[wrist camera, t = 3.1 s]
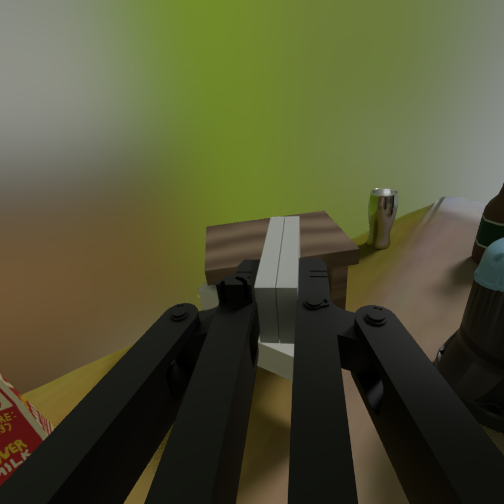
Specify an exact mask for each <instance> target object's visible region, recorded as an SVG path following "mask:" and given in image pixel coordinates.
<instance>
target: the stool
mask: <svg viewBox="0 0 504 504" xmlns="http://www.w3.org/2000/svg"><path fill="white" fill-rule="evenodd" d="M289 216H299V222H300V258H321V259H322V260H323V261H324V262H325V263H326V267H327V275H328V283H329V291H330V298H331V300H332V302H333V303H334V304H335V305H336V306H337V307H339V308H341V309H343V310H345V304H346V289H347V273H348V265H354V264H358V262H359V250H360V249H359V248H358V247H357V245H356V244H355V243H354V242H353V241H352V240H351V239H350V238H349V237H348V236H347V235H346V234H345V233H344V232H343V230H342V229H341V228H340V227H339V226H338V225H337V224H336V223H335V222H334V221H333V220H332V219H331V218H330V217H329V215H328V214H327V213H326V212H325V211H318V212H311V213H304V214H296V215H289ZM281 217H287V216H281ZM269 222H270V218H267V219H260V220H252V221H244V222H237V223H230V224H223V225H215V226H208V227H207V228H206V229H207V230H206V252H205V275H206V280H207V285H208V286H210V285H216V284H217V282H218V281H219V280H221V279H222V278H224V277H227V276H230V275H235V273H236V270H237V267H238V265H239V264H240V263H241V262H242V261H243V260H244V259H261V256H262V252H263V248H264V244H265V239H266V235H267V231H268V227H269Z"/></svg>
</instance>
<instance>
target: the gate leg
mask: <svg viewBox="0 0 504 504" xmlns="http://www.w3.org/2000/svg"><path fill="white" fill-rule="evenodd" d="M198 291H199V296H200V300H201V305H202V309H203V310H208V309H212V308H215V307H217V306H218V304H219V300H218V295H217V289H216V285H210V286H208V285H207V282H206V283H205V284H204V285H202V286H201V287H200V288H198ZM258 348H259V356H258V363H257V366H259V367H262V368H264V369H266V370H268V371H270V372H272V373H275V374H277V375H279V376H281V377H283V378H285V379H288V380H290V381H292V382H293V361H294V344H282V343H280V339H279V343H260V335H259V340H258Z"/></svg>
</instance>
